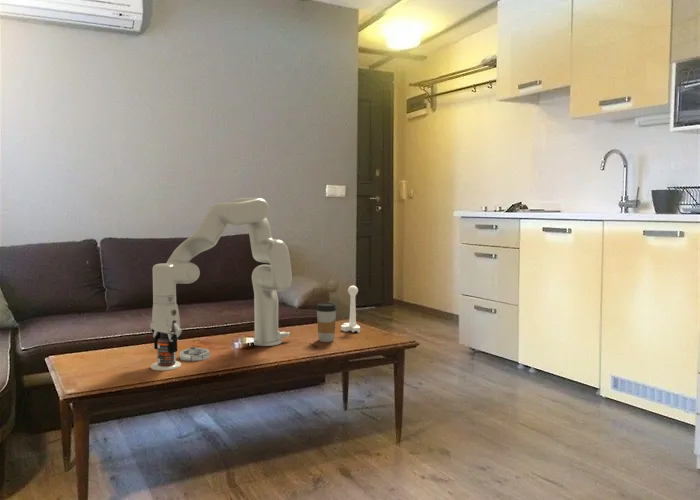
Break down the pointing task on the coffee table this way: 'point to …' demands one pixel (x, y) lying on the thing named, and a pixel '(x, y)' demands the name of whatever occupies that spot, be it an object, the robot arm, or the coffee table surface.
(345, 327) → the joystick
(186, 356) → the ring holder
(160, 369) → the coaster
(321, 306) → the coffee cup
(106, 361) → the coffee table surface
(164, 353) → the supplement bottle
